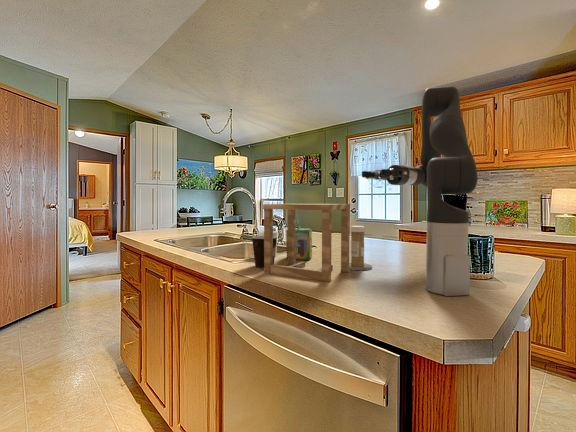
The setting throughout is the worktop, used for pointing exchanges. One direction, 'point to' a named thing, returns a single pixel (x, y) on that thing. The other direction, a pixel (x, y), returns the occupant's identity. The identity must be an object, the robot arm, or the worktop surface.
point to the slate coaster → (365, 267)
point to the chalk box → (302, 243)
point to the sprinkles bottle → (357, 246)
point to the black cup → (275, 233)
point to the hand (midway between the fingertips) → (371, 173)
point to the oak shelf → (294, 269)
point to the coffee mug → (261, 250)
